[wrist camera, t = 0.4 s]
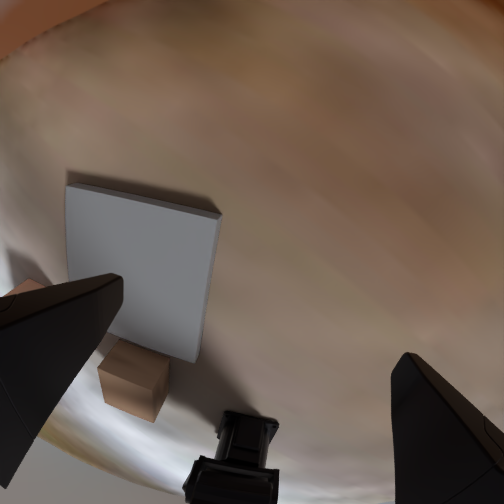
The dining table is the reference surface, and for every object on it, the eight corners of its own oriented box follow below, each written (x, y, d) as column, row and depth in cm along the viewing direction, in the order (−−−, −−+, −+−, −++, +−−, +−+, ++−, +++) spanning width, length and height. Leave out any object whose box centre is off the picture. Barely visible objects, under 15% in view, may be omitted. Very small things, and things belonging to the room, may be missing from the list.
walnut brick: (168, 391, 31) (153, 423, 26) (123, 374, 31) (104, 402, 27) (170, 357, 28) (152, 390, 24) (119, 338, 29) (97, 367, 24)
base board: (199, 353, 27) (194, 363, 26) (81, 310, 28) (73, 317, 27) (222, 214, 22) (217, 220, 21) (76, 182, 23) (65, 185, 21)
